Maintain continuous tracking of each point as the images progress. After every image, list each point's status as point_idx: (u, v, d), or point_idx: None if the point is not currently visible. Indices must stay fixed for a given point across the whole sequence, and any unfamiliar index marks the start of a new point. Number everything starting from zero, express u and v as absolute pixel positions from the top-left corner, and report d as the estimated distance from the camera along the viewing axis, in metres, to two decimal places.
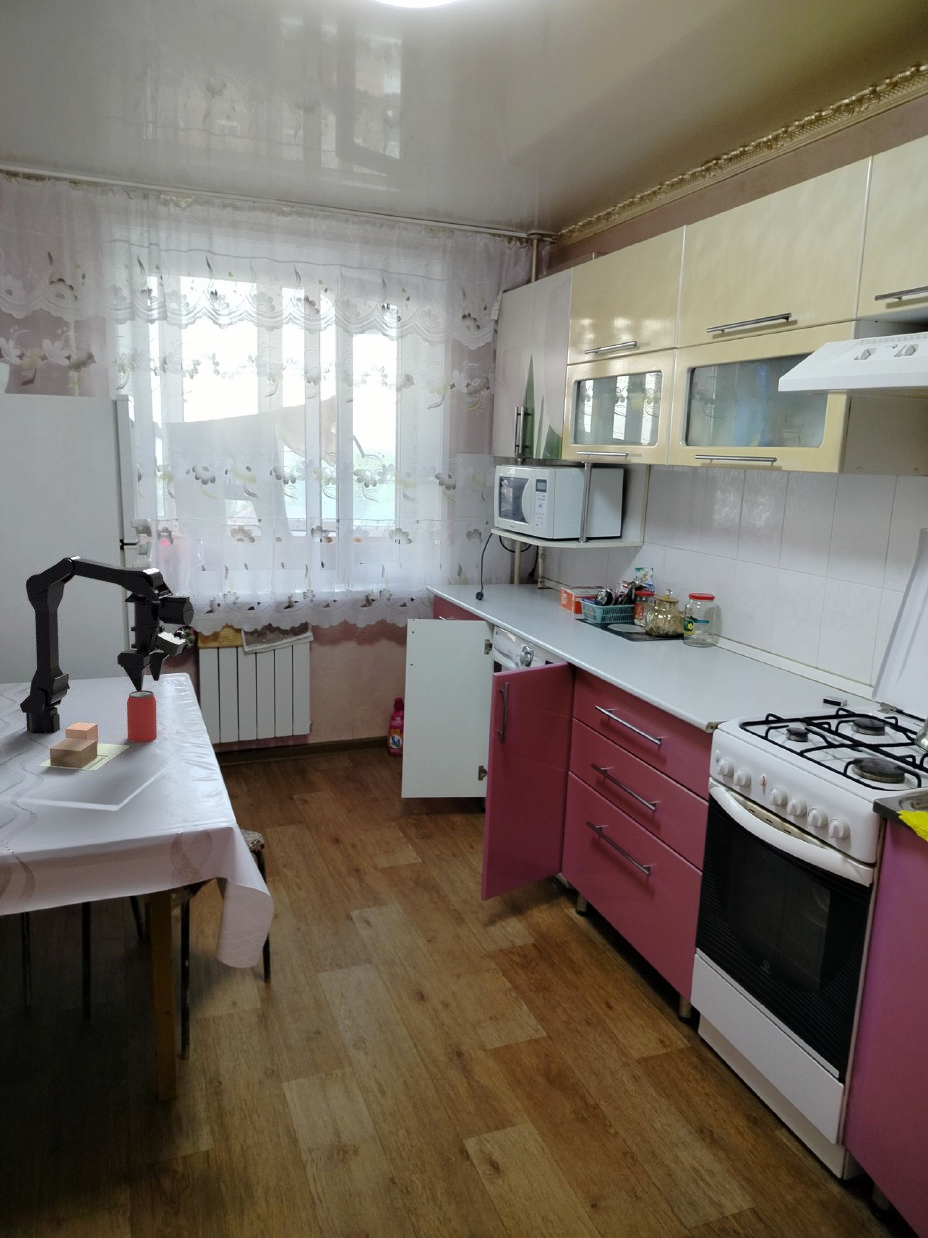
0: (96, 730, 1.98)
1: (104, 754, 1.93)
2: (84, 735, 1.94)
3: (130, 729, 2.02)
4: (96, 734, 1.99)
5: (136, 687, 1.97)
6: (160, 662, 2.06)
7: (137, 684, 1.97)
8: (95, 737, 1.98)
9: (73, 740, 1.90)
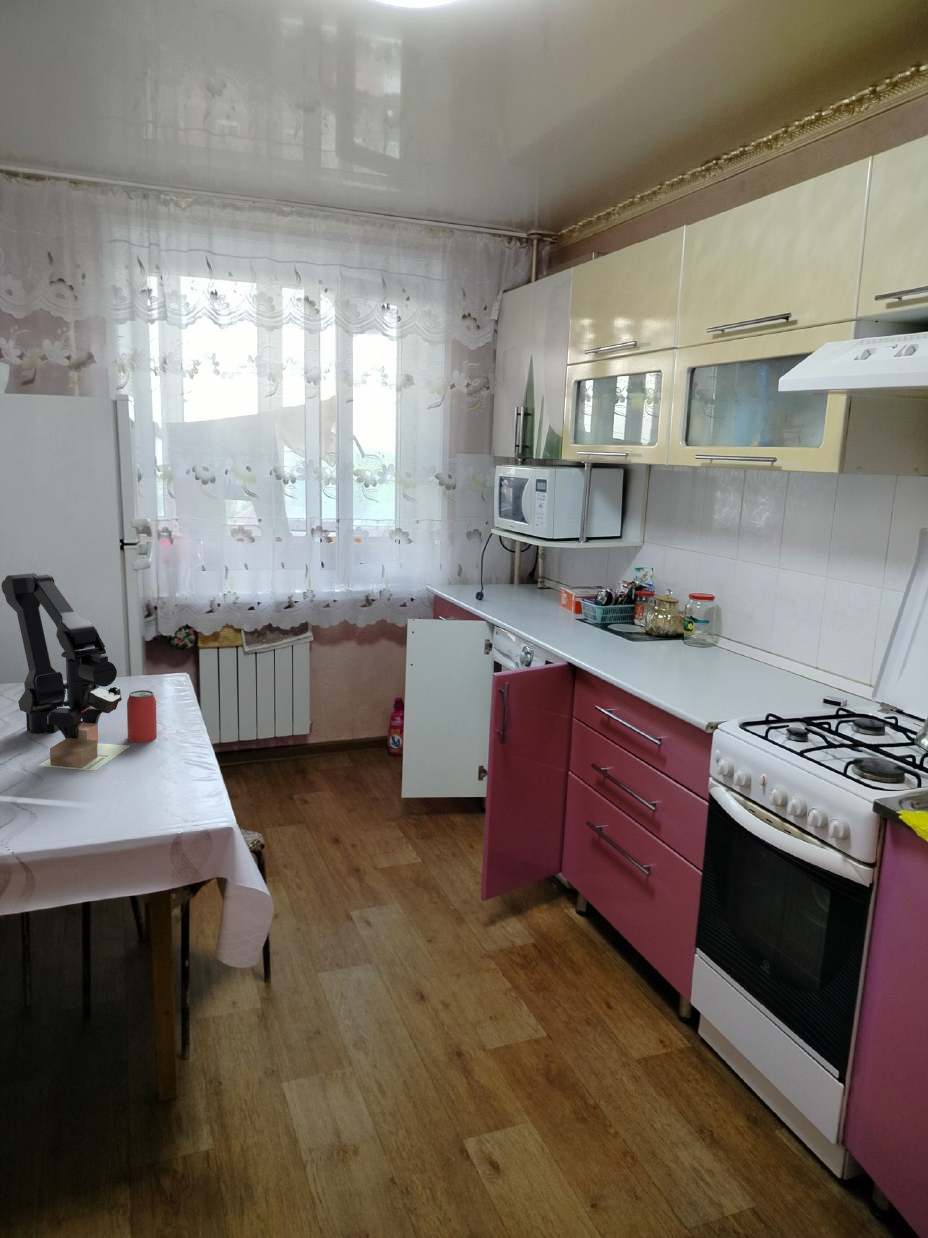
0: (96, 730, 1.98)
1: (104, 754, 1.93)
2: (84, 735, 1.94)
3: (130, 729, 2.02)
4: (96, 734, 1.99)
5: None
6: (94, 719, 2.00)
7: None
8: (95, 737, 1.98)
9: (73, 740, 1.90)
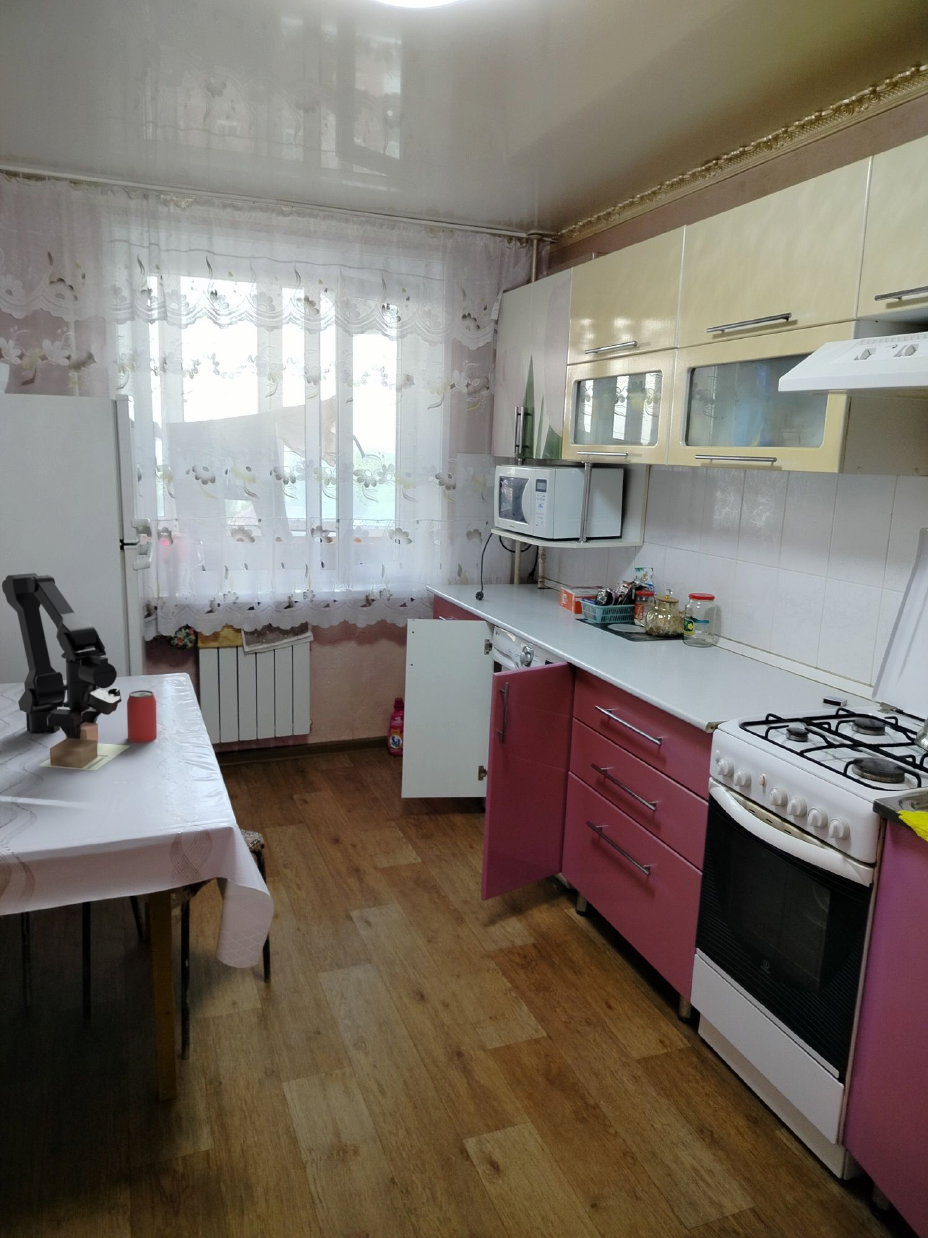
0: (96, 730, 1.98)
1: (104, 754, 1.93)
2: (84, 734, 1.94)
3: (130, 729, 2.02)
4: (96, 734, 1.99)
5: None
6: (92, 721, 1.99)
7: None
8: (95, 736, 1.98)
9: (73, 740, 1.90)
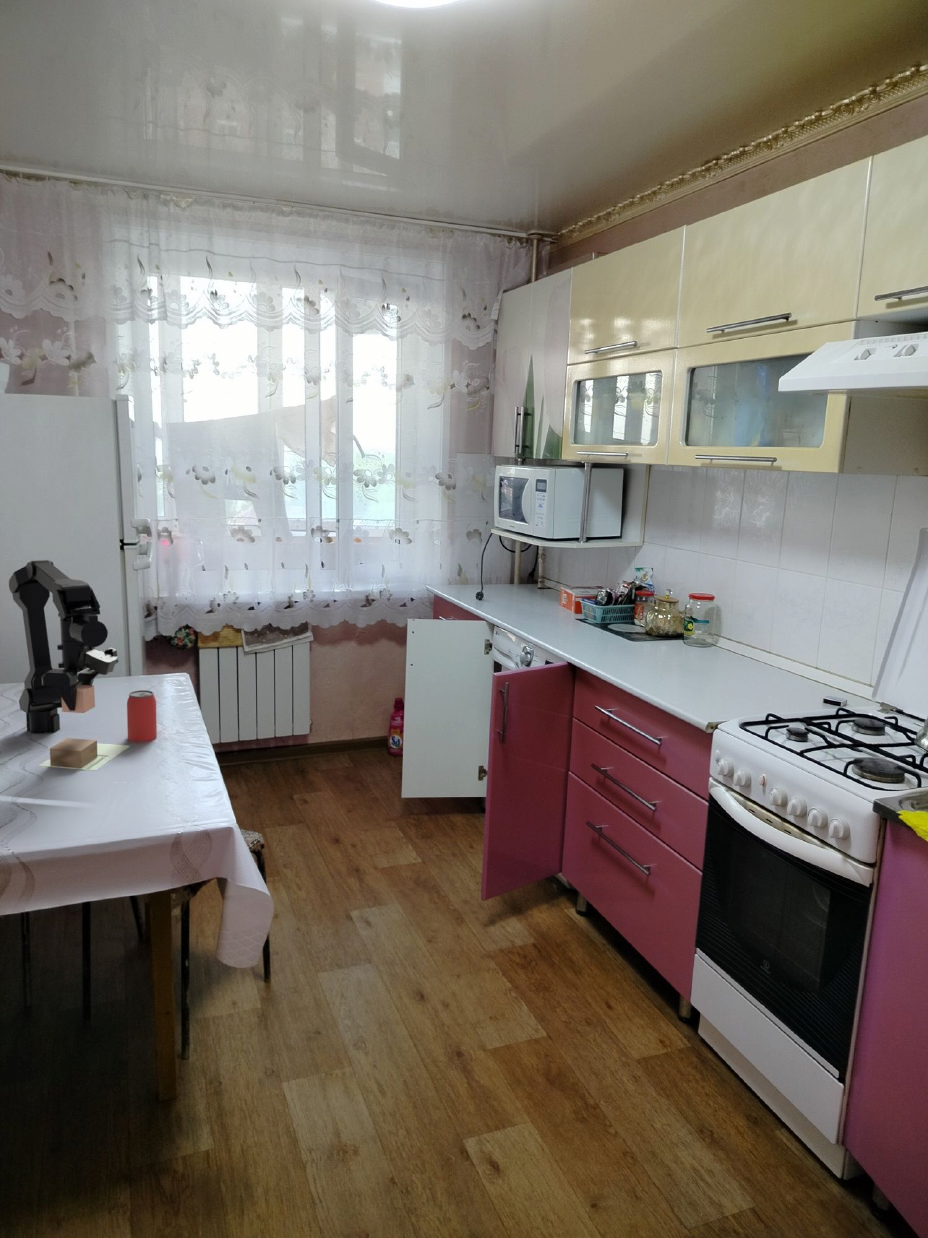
0: (92, 692, 1.92)
1: (104, 754, 1.93)
2: (80, 696, 1.88)
3: (130, 729, 2.02)
4: (93, 696, 1.92)
5: (69, 706, 1.87)
6: (88, 684, 1.93)
7: (70, 703, 1.87)
8: (91, 699, 1.92)
9: (73, 740, 1.90)
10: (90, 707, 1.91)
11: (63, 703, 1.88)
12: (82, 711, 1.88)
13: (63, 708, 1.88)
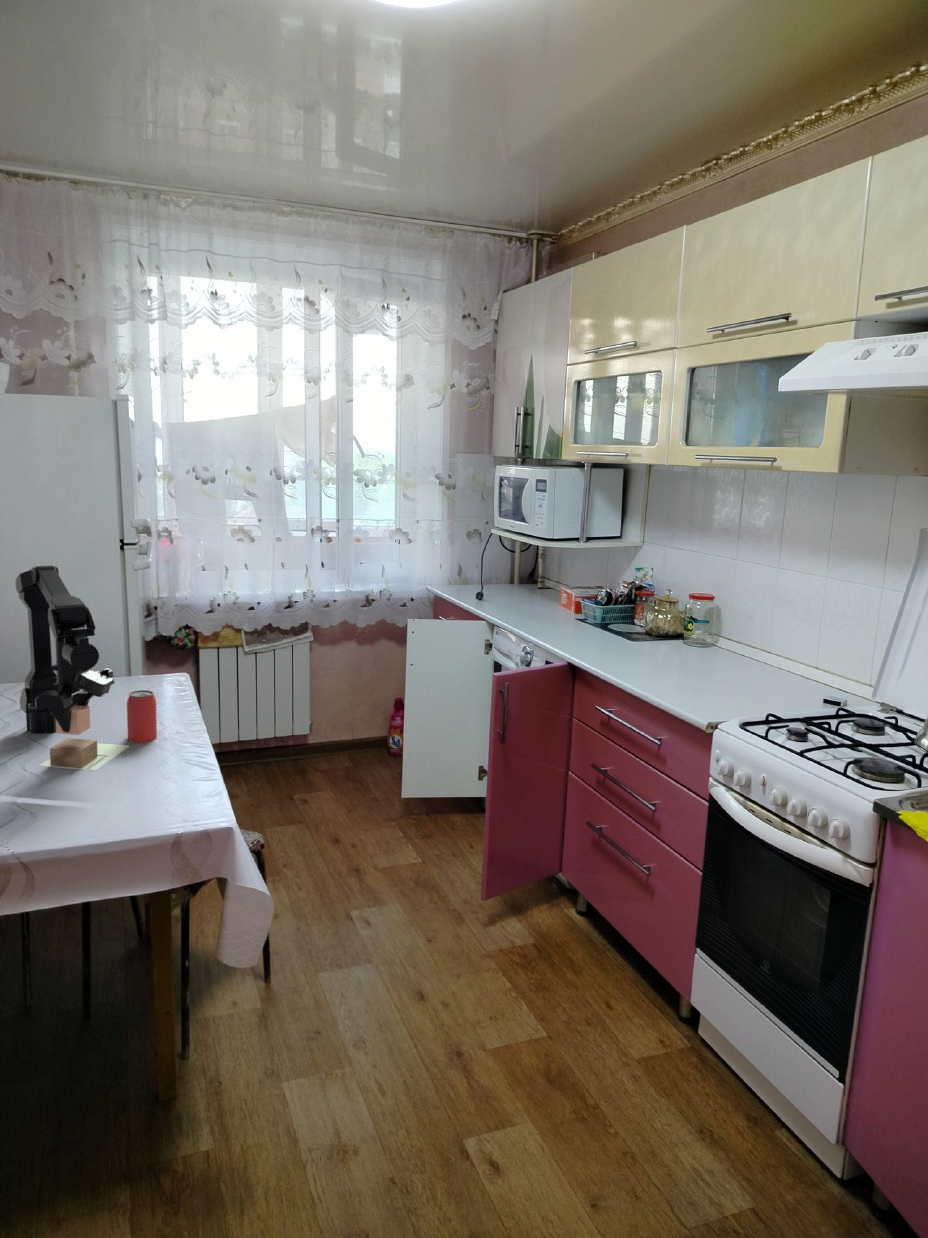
0: (88, 713, 1.88)
1: (104, 754, 1.93)
2: (75, 717, 1.84)
3: (130, 729, 2.02)
4: (88, 717, 1.89)
5: (63, 728, 1.84)
6: (83, 704, 1.89)
7: (64, 725, 1.83)
8: (86, 720, 1.88)
9: (73, 740, 1.90)
10: (85, 728, 1.87)
11: (57, 724, 1.85)
12: (76, 733, 1.85)
13: (57, 729, 1.85)
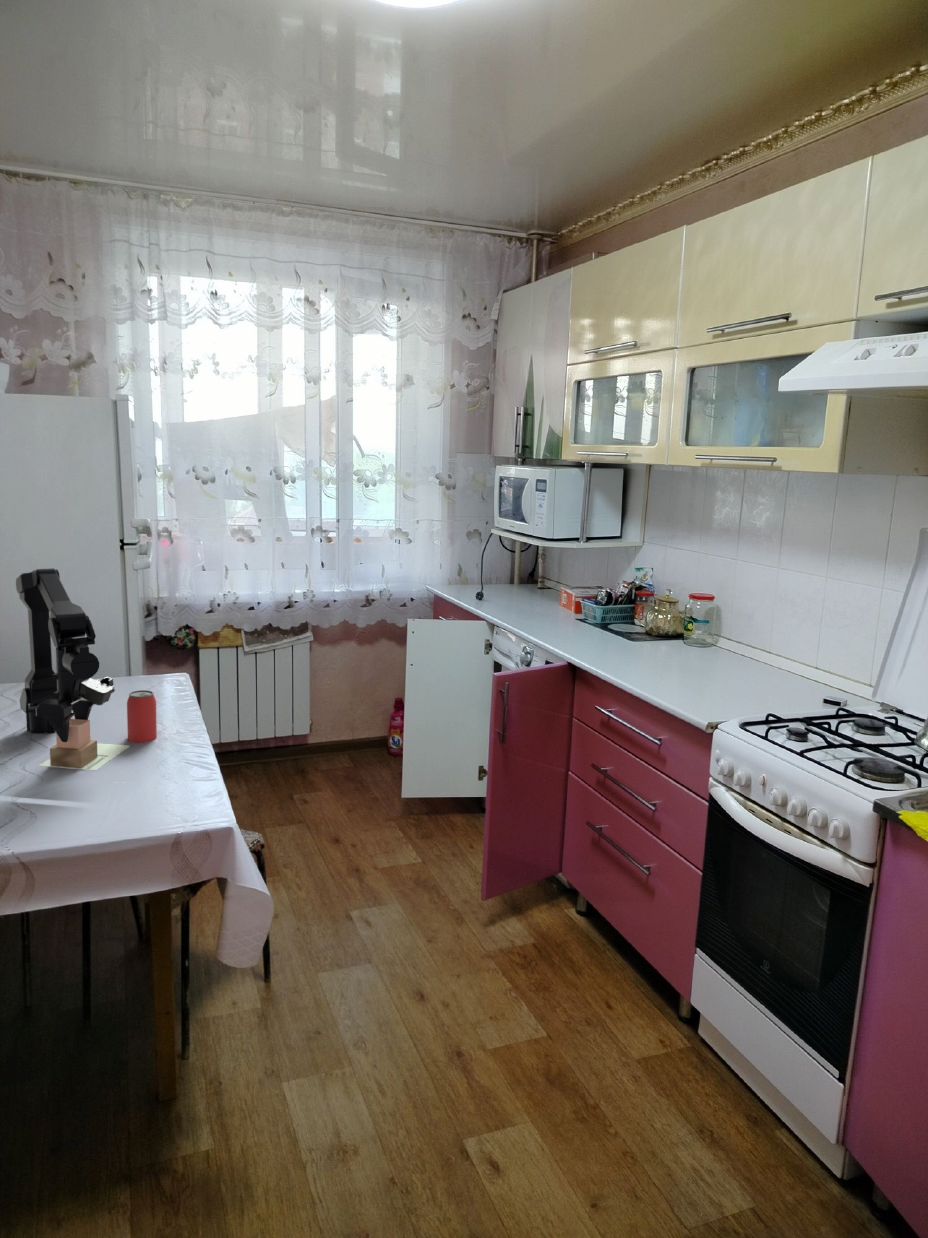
0: (88, 727, 1.89)
1: (104, 754, 1.93)
2: (75, 731, 1.84)
3: (130, 729, 2.02)
4: (89, 731, 1.89)
5: (61, 738, 1.83)
6: (86, 711, 1.90)
7: (62, 735, 1.83)
8: (87, 734, 1.88)
9: None
10: (85, 742, 1.88)
11: (58, 738, 1.85)
12: (77, 747, 1.85)
13: (57, 743, 1.85)
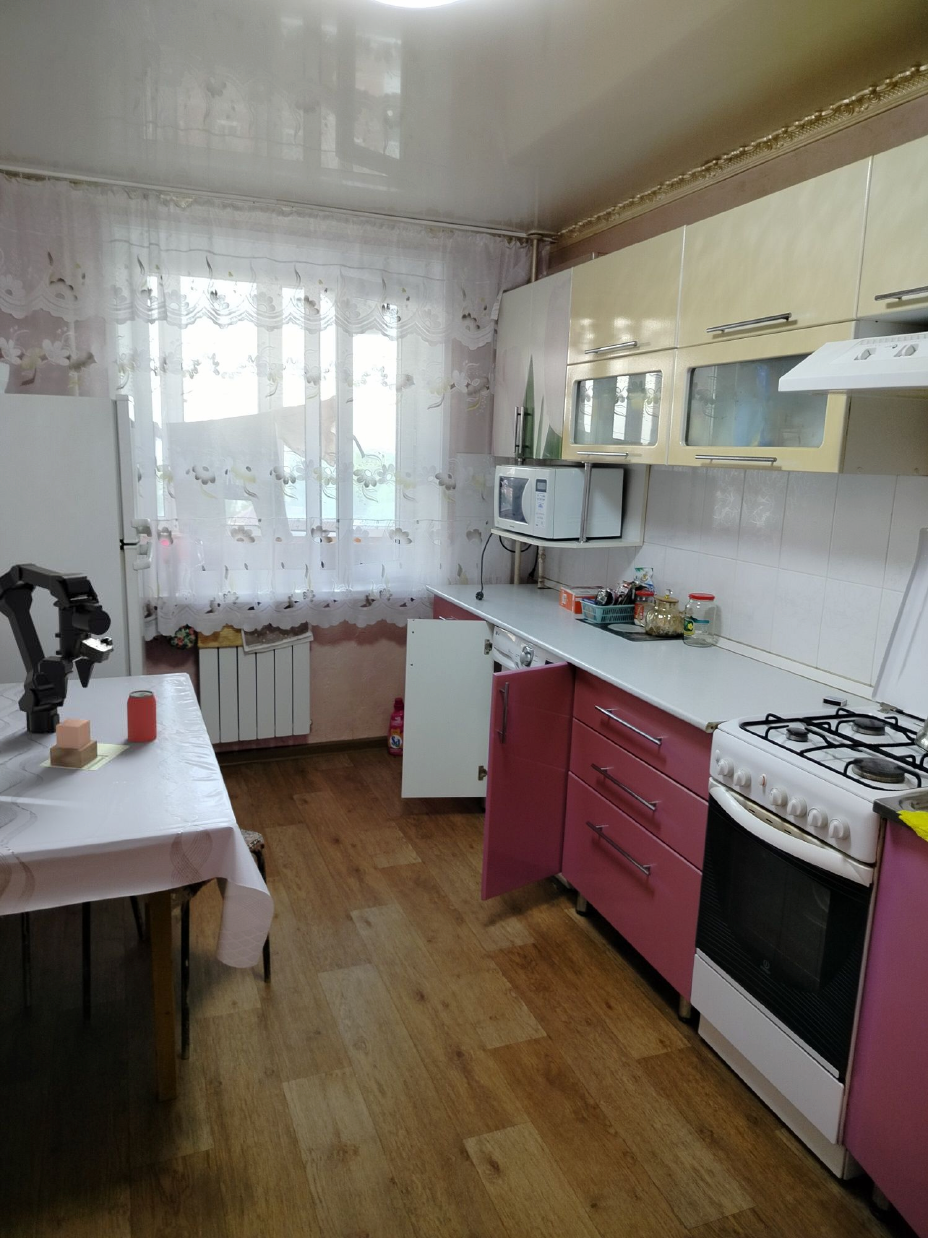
0: (88, 727, 1.89)
1: (104, 754, 1.93)
2: (75, 731, 1.84)
3: (130, 729, 2.02)
4: (89, 731, 1.89)
5: (60, 695, 1.93)
6: (89, 669, 2.02)
7: (61, 691, 1.93)
8: (87, 734, 1.88)
9: None
10: (85, 742, 1.88)
11: (58, 738, 1.85)
12: (77, 747, 1.85)
13: (57, 743, 1.85)
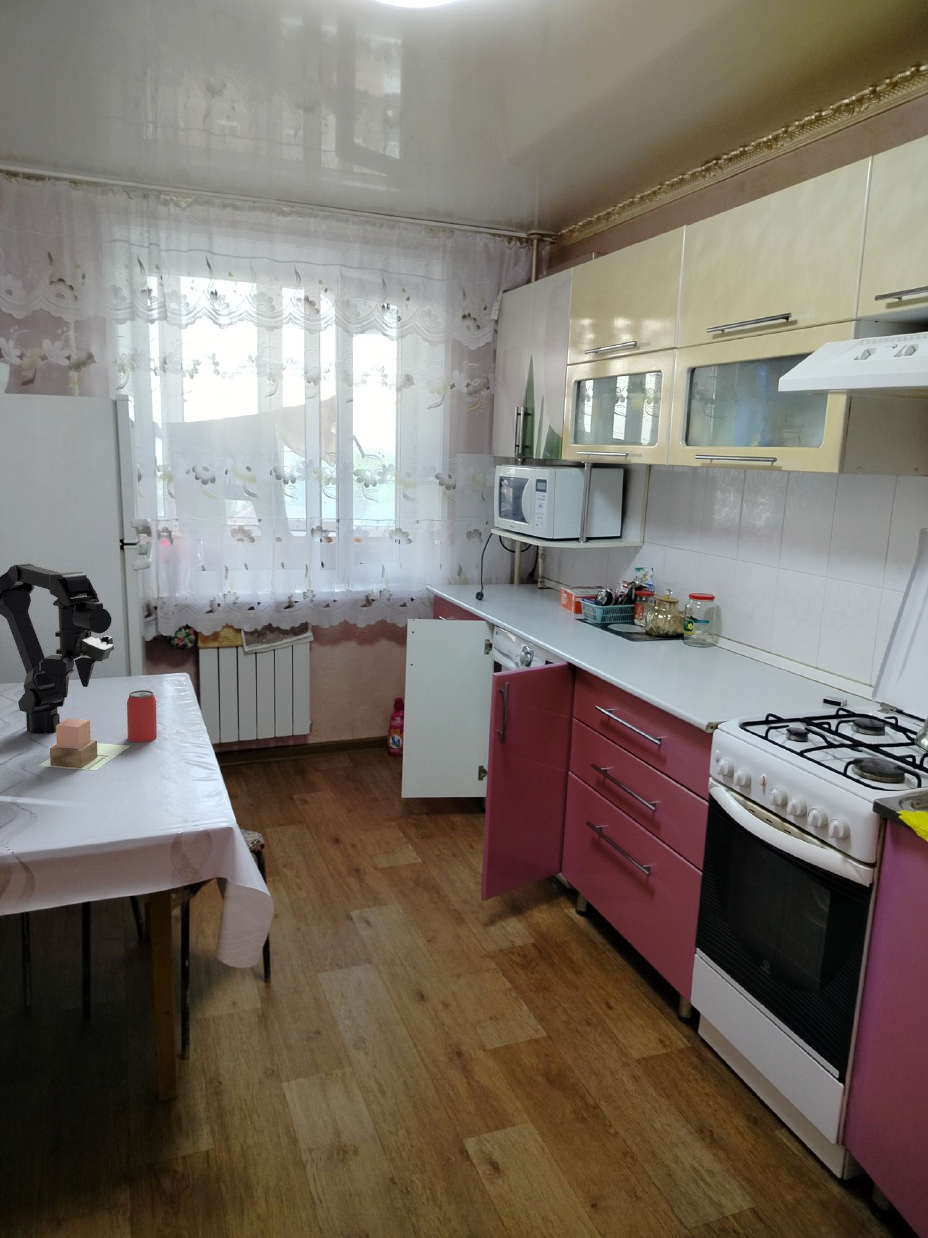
0: (88, 727, 1.89)
1: (104, 754, 1.93)
2: (75, 731, 1.84)
3: (130, 729, 2.02)
4: (89, 731, 1.89)
5: (61, 693, 1.93)
6: (89, 668, 2.02)
7: (62, 690, 1.93)
8: (87, 734, 1.88)
9: None
10: (85, 742, 1.88)
11: (58, 738, 1.85)
12: (77, 747, 1.85)
13: (57, 743, 1.85)
